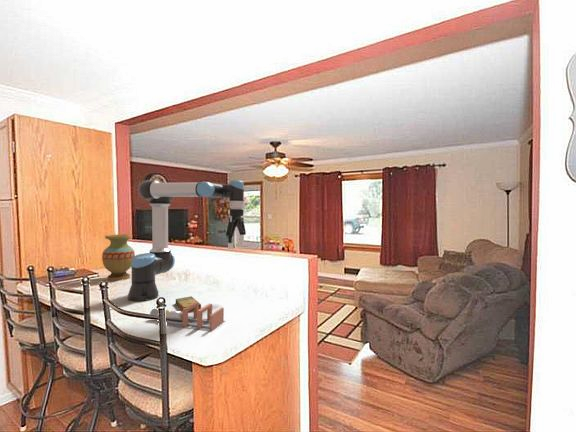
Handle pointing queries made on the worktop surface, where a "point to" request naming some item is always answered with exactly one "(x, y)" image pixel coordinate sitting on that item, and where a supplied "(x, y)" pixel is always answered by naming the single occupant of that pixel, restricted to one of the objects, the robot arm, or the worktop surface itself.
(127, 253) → the vase
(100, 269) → the worktop surface
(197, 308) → the collar deck
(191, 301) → the carton
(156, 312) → the tube
